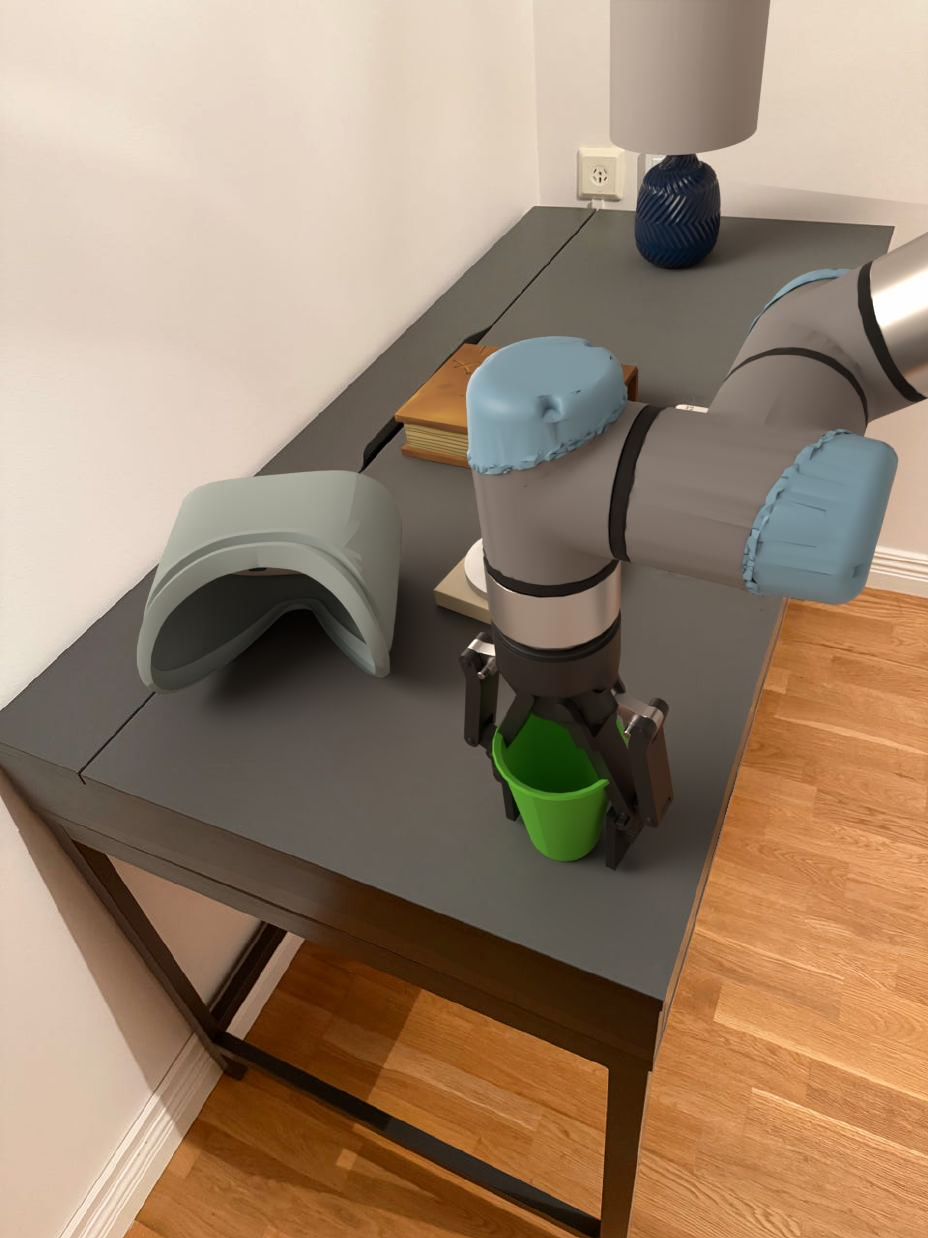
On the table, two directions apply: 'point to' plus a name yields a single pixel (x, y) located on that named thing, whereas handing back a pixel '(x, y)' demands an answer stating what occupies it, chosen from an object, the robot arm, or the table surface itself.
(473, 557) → the scale pan
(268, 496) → the grey arched shell
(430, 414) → the diary
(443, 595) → the scale
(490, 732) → the robot arm
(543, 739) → the cup
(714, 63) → the lamp
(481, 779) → the table surface
